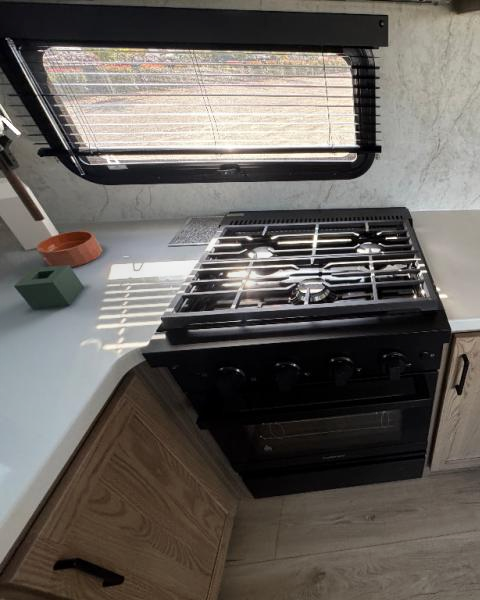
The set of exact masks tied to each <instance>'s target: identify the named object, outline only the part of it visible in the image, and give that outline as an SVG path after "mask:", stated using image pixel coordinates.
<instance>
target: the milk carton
mask: <svg viewBox="0 0 480 600" xmlns="http://www.w3.org/2000/svg"><path fill="white" fill-rule="evenodd" d="M17 177H18V178H19V176H18V175H17ZM19 180H20V181H21V183H22V184H23V186H24V187H25V189H26V190H27V192H28V194H29V195H30V197H31V198H32V200H33V201H34V203H35V204H36V206H37V207H38V209H39V210H40V212H41V213H42V215H43V217H44V218H45V219H44V220H41V221H35V220H34V219H33V217H32V216H31V214H30V213H29V212H28V210H27V209H26V207H25V206H24V204H23V203H22V201H21V200H20V198H19V197H18V195H17V194H16V192H15V191H14V189H13V188H12V186H11V185H10V183H9V182H8V180H7V179H6V177H1V178H0V217H1V219H2V221H3V222H4V223H5V225H6V226H7V227H8V228H9V230H10V231H11V232H12V234H13V235H14V236H15V238H16V239H17V241H18V242H19V243H20V245H21V246H22V247H23V249H24V250H25V251H29V250H34V249H36V247H37V245H38V244H39V243H40V242H41V241H43V240H45V239H47V238H49V237H52V236H55V235H58V234H60V233H59V232H58V230H57V228H56V227H55V226H54V224H53V222H52V221H51V219H50V218H49V216H48V215H47V213H46V211H45V210H44V209H43V207H42V206H41V204H40V203H39V201H38V199H37V198H36V196H35V195H34V193H33V191H32V190H31V188H30V187H29V186H28V185H27V184H26V183H24V182H23V181H22V180H21V179H20V178H19Z"/></svg>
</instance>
